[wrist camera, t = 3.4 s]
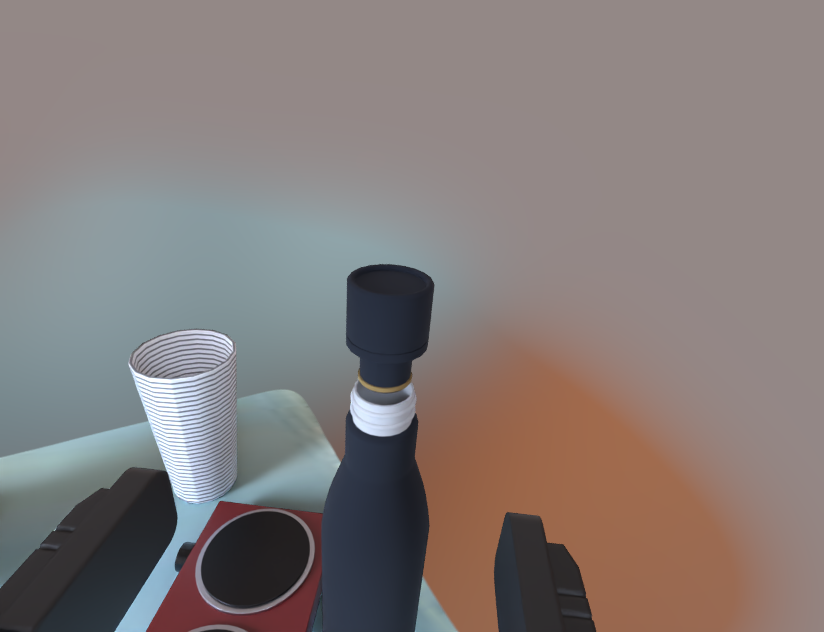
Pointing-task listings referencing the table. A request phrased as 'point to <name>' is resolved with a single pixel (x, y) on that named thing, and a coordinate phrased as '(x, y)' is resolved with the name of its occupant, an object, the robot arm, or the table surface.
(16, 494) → the table surface
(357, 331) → the water bottle
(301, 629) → the hot plate
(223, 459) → the cup
